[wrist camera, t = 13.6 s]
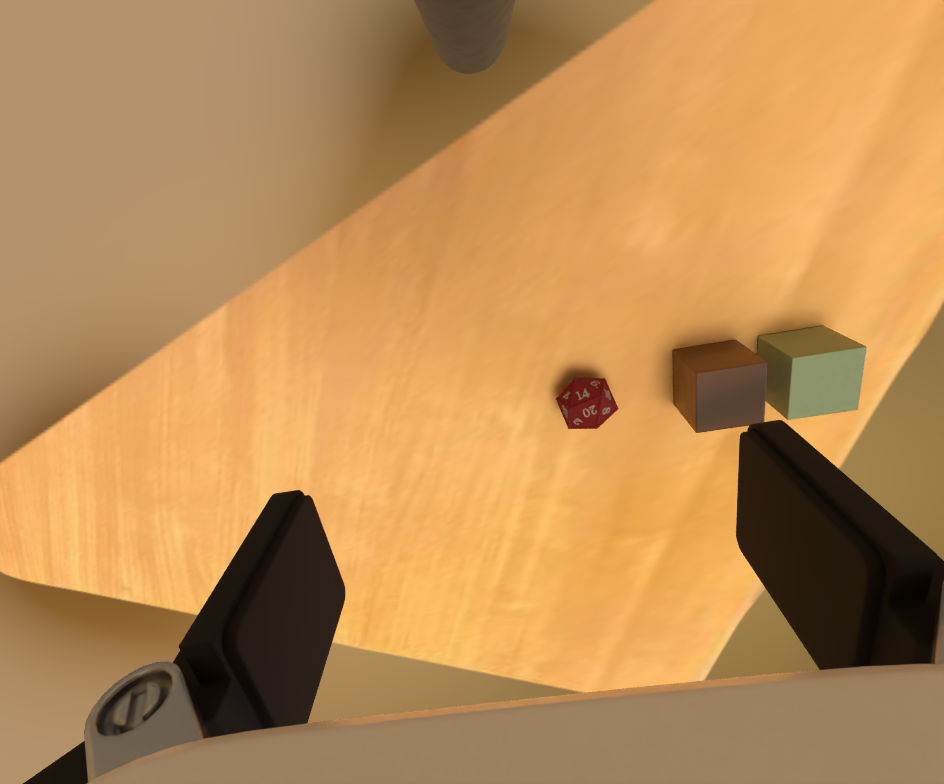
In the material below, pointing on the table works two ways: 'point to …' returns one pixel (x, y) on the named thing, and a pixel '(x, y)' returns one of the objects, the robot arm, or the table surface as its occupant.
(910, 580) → the robot arm
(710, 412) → the walnut block
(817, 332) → the sage block
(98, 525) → the table surface
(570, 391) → the dice
